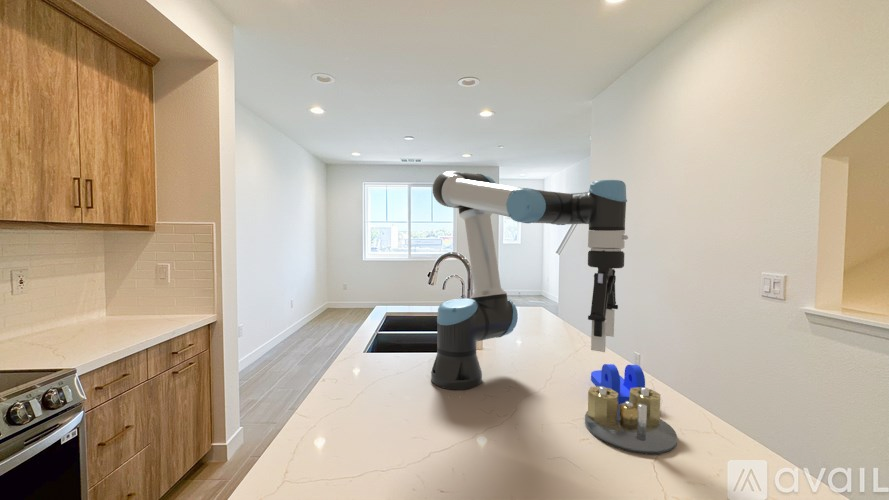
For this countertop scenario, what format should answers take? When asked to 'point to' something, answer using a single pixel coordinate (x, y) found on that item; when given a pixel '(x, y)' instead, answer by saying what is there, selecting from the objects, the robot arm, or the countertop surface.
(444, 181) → the robot arm
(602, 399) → the octagonal wooden tube
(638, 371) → the bracket
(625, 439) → the carrier
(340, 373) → the countertop surface
